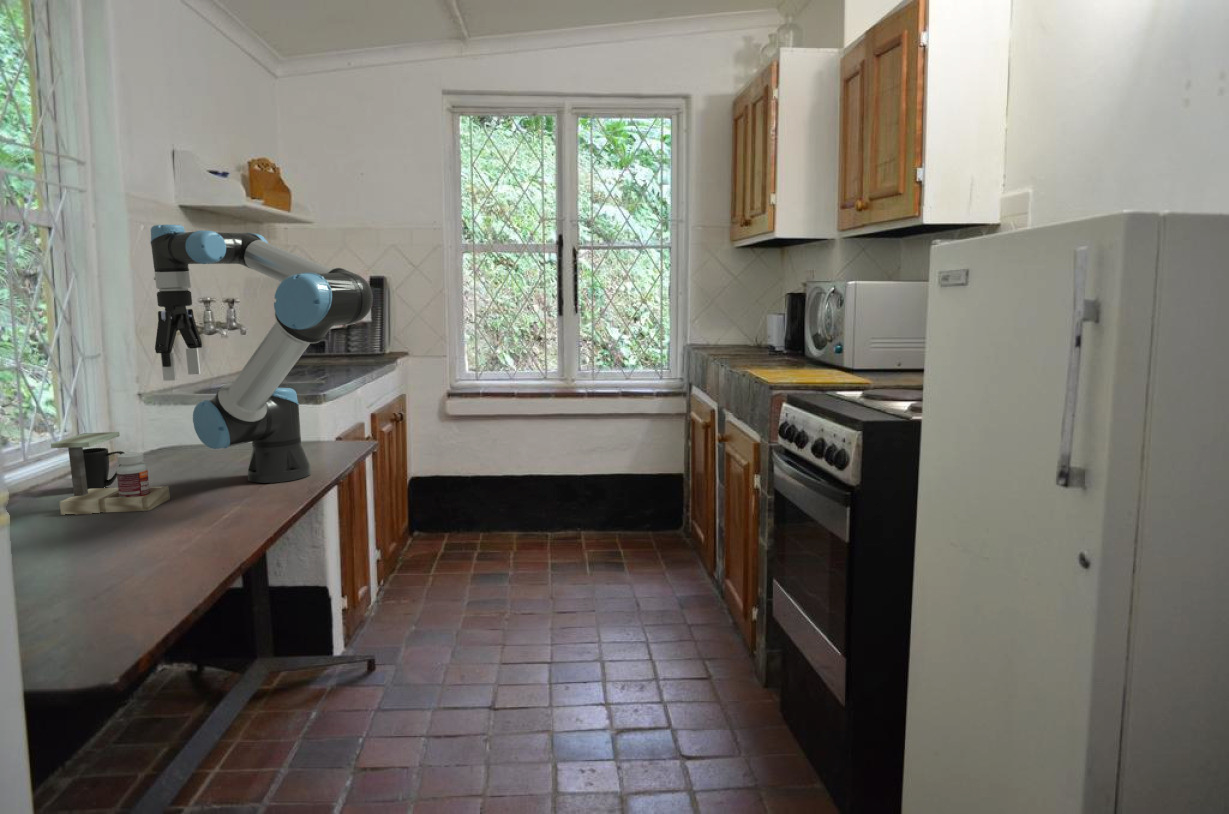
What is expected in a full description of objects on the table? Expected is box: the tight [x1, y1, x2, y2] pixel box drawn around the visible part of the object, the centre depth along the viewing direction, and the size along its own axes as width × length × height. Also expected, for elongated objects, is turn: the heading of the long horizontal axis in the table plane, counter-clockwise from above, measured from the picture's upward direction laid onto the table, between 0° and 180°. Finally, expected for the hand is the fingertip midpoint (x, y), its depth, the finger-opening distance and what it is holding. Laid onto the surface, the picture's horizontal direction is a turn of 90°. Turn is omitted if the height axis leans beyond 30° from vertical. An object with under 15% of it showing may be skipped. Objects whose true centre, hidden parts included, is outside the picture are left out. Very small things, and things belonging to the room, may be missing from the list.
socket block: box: [50, 431, 171, 516], centre depth 199 cm, size 18×13×16 cm
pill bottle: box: [115, 451, 150, 497], centre depth 199 cm, size 6×6×11 cm
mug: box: [83, 447, 125, 489], centre depth 218 cm, size 8×12×10 cm
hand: (182, 377), depth 217 cm, fingers open, 13 cm apart
